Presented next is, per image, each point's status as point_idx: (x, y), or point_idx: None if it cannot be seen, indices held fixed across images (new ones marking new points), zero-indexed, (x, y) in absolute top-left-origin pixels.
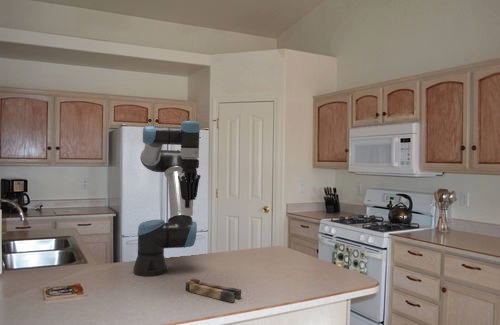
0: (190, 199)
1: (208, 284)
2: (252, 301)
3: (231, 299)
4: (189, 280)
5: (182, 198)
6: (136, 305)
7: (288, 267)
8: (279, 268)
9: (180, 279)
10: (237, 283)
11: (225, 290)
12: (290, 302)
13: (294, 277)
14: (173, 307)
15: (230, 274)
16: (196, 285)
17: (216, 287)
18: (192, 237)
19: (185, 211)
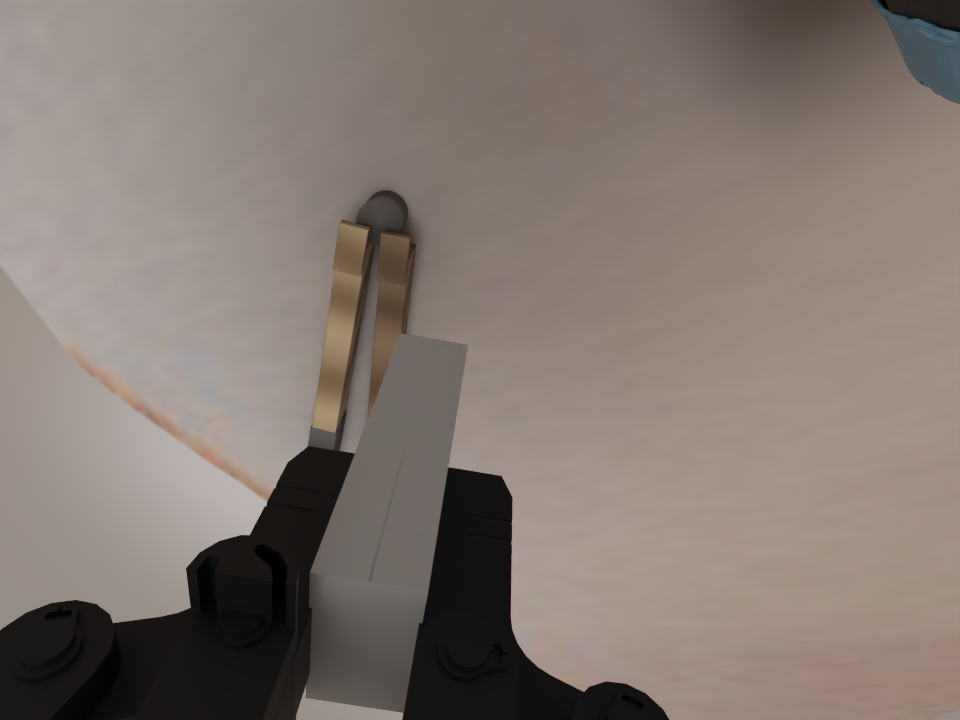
0: (409, 673)
1: (389, 339)
2: None
3: None
4: (366, 234)
5: (61, 616)
6: (36, 38)
7: (938, 555)
8: (914, 523)
9: (567, 49)
10: (589, 402)
11: (333, 441)
12: None
13: (750, 592)
14: (140, 245)
15: (753, 323)
16: (335, 292)
17: (371, 386)
18: (920, 73)
19: (384, 378)
